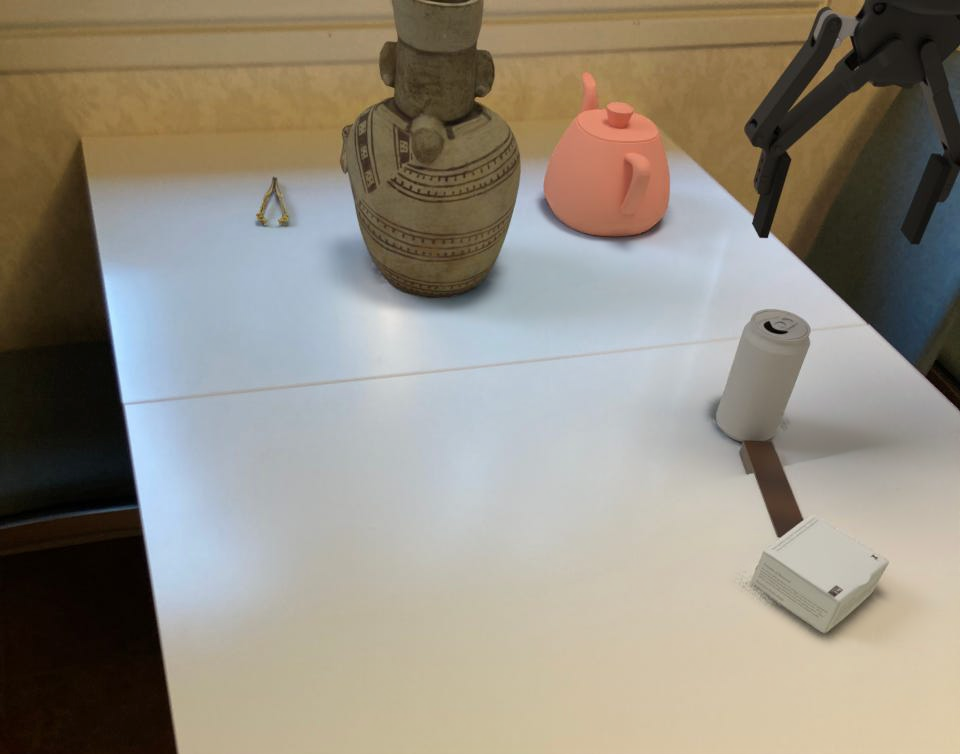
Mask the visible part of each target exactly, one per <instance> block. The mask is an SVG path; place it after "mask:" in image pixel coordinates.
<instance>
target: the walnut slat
mask: <svg viewBox="0 0 960 754" xmlns="http://www.w3.org/2000/svg"><path fill="white" fill-rule="evenodd" d="M739 455H740V458H741V460H742V463H743V466H744V469H745V471H746V475H752V474H753V475H754V478H755V479H756V480H755V481H756V483H757V486H758V488H759V491H760V493H761V497H762V499H763V502H764V505H765V507H766V510H767V513H768V516H769V518H770V521H771V524H772V527H773V530H774V533H775V535H776V537H777V539H779V538H781V537H782V536H783V535H785V534H786V533H787V532H788V531H790V530H791V529H792V528H794V527H795V526H796V525H798V524H799V523H800V522H802V521H803V520H804V517H803V516H802V512H801V510H800V507H799V505H798V502H797V500H796V497H795V495H794V492H793V490H792V487H791V485H790V482H789V480H788V477H787V476H786V472H785V470H784V468H783V464H782V463H781V460H780V457H779V455H778V453H777V450H776V447H775V445H774V443H773V441H771V440H765V441H751V440H744V441H743V442H741V446H740V449H739Z"/></svg>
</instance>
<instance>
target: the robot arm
mask: <svg viewBox="0 0 960 754" xmlns="http://www.w3.org/2000/svg"><path fill="white" fill-rule="evenodd" d="M848 37H849V38H850V41H851V42H850V43H851V46H852V49H850V51H848V53H846V54H845V55H844V56H843V57H842V58H841V59H840V60H839V61H838V62H836V64H835V65H834V67H833V69H832V71H831V72H830V73H829V74H828V75H826V77H824V78H823V79H822V80H821V81H819V83H818V84H816V85H815V86H814V87H813V88H812V89H811V90H810V91H809V92H808V93H807V94H806V95H804V96H803V98H802V99H800V100H799V98H800V97H801V95H802V94H803V92H805V90H806V89H807V87H808V86H809V85H810V83H811V82H812V81H813V79H814V78H815V77H816V75H817V74H818V73H819V72H820V71H821V69H822V67H823V66H824V65H825V63H826V62H827V60H828V58H829V57H830V55H831V53H832V51H833V50H836V49H837V48H839V47H840V46H841V45H842V43H843V42H844V40H845V39H846V38H848ZM959 47H960V0H864V2H863V5H862V6H861V8H860V9H859V11H858V12H857V14H856V15H855V16H851V15H845V14H841V13H837V12H835V11H834V10H833V9H832V8H831V7H829V6H823V7H822V8H820V10H818V11H817V14H816V15H815V19H814V21H813V24H812V26H811V29H810V32H809V34H808V37H807V39H806V40H805V42H804V43H803V45H802V46H801V47H800V49H799V50H798V51H797V53H796V54H795V55H794V57H793V58H792V60H791V61H790V63H789V64H788V65H787V67H786V68H785V69H784V70H783V72H782V74H781V75H780V76H779V78H778V79H777V80H776V82H775V83H774V85H773V86H772V87H771V89H770V90H769V91H768V93H767V94H766V95H765V97H764V98H763V100H762V101H761V102H760V104H759V105H758V106H757V108H755V111H754V112H753V114H752V115H751V116H750V117H749V119H748V120H747V122H746V123H745V125H744V127H743V131H744V133H745V135H746V137H747V139H748V141H749V142H750V144H751V145H752V147H753V148H759V149H761V152H760V154H759V155H760V156H759V159H758V163H757V167H756V170H755V174H754V177H753V188H754V190H755V192H756V193H757V195H759V197H758V201H757V205H756V208H755V211H754V214H753V218H752V222H751V225H752V227H753V229H754V231H755V233H756V234H757V236H758V238H759V239H769V237H770V233H771V229H772V226H773V223H774V219H775V215H776V213H777V209H778V205H779V202H780V199H781V196H782V193H783V190H784V186H785V183H786V181H787V180H786V179H787V176H788V172H789V170H790V166H791V163H792V158H791V156H790V154H789V152H788V150H789V149H790V148H791V147H792V146H794V145H795V144H796V143H797V142H798V141H799V140H800V139H801V138H802V137H803V136H804V135H806V134H807V133H808V132H809V131H810V130H811V129H812V128H813V127H815V126H816V125H817V124H818V123H819V122H820V121H822V120H823V118H825V117H826V116H827V115H828V114H829V113H830V112H831V111H832V110H834V109H835V108H836V107H837V106H838V105H839V104H840V103H842V102H843V101H844V100H845V99H846V98H847V97H848V96H849V95H851V94H853V93H856V92H858V91H860V90H861V89H862V88H863V87H864V86H865V85H866V84H868V83H869V84H871V85H872V86H873V87H874V88H885V87H890V86H897V87H898V88H901V89H910V90H912V89H913V88H914V86H917V85H920V87H921V89H922V92H923V96H924V97H925V98H924V99H925V101H926V104H927V108H928V110H929V114H930V116H931V119H932V122H933V125H934V129H935V131H936V134H937V137H938V140H939V143H940V146H941V148H942V152H943V154H942V153H936V152H935V153H933V152H932V153H930V155H929V158H928V161H927V163H926V165H925V168H924V170H923V172H922V175H921V178H920V180H919V183H918V185H917V188H916V190H915V192H914V195H913V197H912V200H911V202H910V205H909V208H908V209H907V212H906V214H905V217H904V220H903V222H902V224H901V227H900V231H901V234H902V235H903V236H904V237H905V238H906V240H907V241H908V243H909V244H910V245H920V243H921V241H922V239H923V237H924V234H925V233H926V230H927V227H928V226H929V223H930V221H931V218H932V215H933V213H934V212H935V209H936V206H937V204H938V203H945V202H946V201H947V199H948V198H949V197H950V194H951V192H952V190H953V188H954V185H955V182H956V180H957V178H958V176H959V174H960V120H959V117H958V113H957V110H956V108H955V107H956V106H955V104H954V101H953V97H952V95H951V91H950V89H949V87H950V84H949V80H948V77H947V74H946V71H945V68H944V64H943V62H944V61H945V60H947V59H948V57H950V56H951V55H952V54H953V53H954V52H955V51H956V50H957V49H958V48H959ZM798 100H799V101H798ZM797 101H798V102H797ZM796 102H797V103H796Z"/></svg>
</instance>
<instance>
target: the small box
mask: <svg viewBox="0 0 960 754" xmlns="http://www.w3.org/2000/svg"><path fill="white" fill-rule="evenodd" d="M889 563H890V561H889V560H888V559H887V558H886V557H885V556H883V555H881V554H880V553H878V552H877V551H875V550H874V549H872V548H871V547H870V546H867V545H866V544H864V543H862V542H860V540H857V539H856V538H854V537H852V536H851V535H849V534H847V533H846V532H844V531H843V530H841V529H839V528H837V527H836V526H834V525H833V524H831V523H829V522H828V521H826V520H825V519H823V518H821V517H820V516H819V515H816V514H815V513H811V514H810V515H808V516H807V517H806V518H803V521H802V522H800V523H799V524H798V525H796V526H795V527H794V528H792V529H791V530H790V531H788V532H787V533H786V534H785V535H783V536H782V537H781V538H777V540H775V541H774V542H773V543H772V544H770V545H769V546H768V547H766V548H765V549H764V550H763V551H762V552H761V555H760V558H759V561H758V563H757V565H756V567H755V569H754V573H753V574H752V578H751V580H750V582H749V583H750V584H751V585H752V586H753V587H755V588H756V589H758V590H759V591H760V592H761V593H763V594H765V595H766V596H767V597H769V598H770V599H771V600H773V601H774V602H776V603H777V604H779V605H780V606H782V607H783V608H784V609H786V610H787V611H789V612H791V614H793V615H795V616H796V617H798V618H799V619H800V620H802V621H803V622H805V623H807V624H808V625H810V627H813V628H814V629H815V630H818V631H819V632H821V633H822V634H827V633H828V632H829V631H830V630H832V629H834V628H835V627H836V626H837V625H838V624H839V623H840V622H842V621H843V620H844V619H845V618H846V617H848V616H849V615H850V614H851V613H852V612H853V611H854V610H856V609H857V608H858V607H859V606H860V605H861V604H862V603H863V602H864V601H865V600H867V599H868V598H869V597H870V596H871V595H872V594H873V592H874V590H875V589H876V587H877V585H878V583H879V581H880V580H881V578H882V576H883V574H884V573H885V571H886V570H887V567H888V566H889Z"/></svg>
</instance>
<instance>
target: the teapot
mask: <svg viewBox="0 0 960 754" xmlns="http://www.w3.org/2000/svg"><path fill="white" fill-rule="evenodd" d="M581 82H582V98H581V99H582V100H581V104H580V109H579V113H578V115H576V117H575V118H574V119H573V120H572V122H571V123H570V124H569V126H568V127H567V128H566V130H565V132H564V133H563V135H562V136H561V138H560V139H559V141H558V143H557V144H556V146H555V148H554V149H553V152H552V153H551V157H550V158H549V162H548V164H547V168H546V171H545V174H544V179H543V186H542V187H543V193H544V198H545V200H546V201H547V204H548V205H549V208H550V209H551V211H552V212H553V214H554V216H555V217H556V218H557V219H558V220H559V221H560V222H561V223H563V224H565V225H566V226H568V227H569V228H571V229H572V230H575V231H577V232H580V233H583V234H587V235H592V236H598V237H599V236H601V237H627V236H634V235H640V234H642V232H643V233H646V232H647V231H649V230H650V229H652V227H654V226H655V225H656V224H657V223H659V221H661V219H663V217H664V216H665V215H666V213H667V210H668V208H669V202H670V194H671V192H670V191H671V175H670V174H671V173H670V167H669V162H668V157H667V154H666V149H665V145H664V142H663V139H662V136H661V133H660V131H659V129H658V127H657V126H656V124H655V123H654V122H653V121H652V120H650V119H649V118H647V117H646V116H644V115H642V114H640V113H637V112H635V107H633V106H632V105H630V104H629V103H625V102H618V101H616V102H610V103H608V104H607V105H606V108H599V107H600V106H599V97H598V88H597V87H598V86H597V83H596V80H595V78H594V76H593V75H592V74H591V73H590V72H587V71H585V72H582V75H581Z"/></svg>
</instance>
